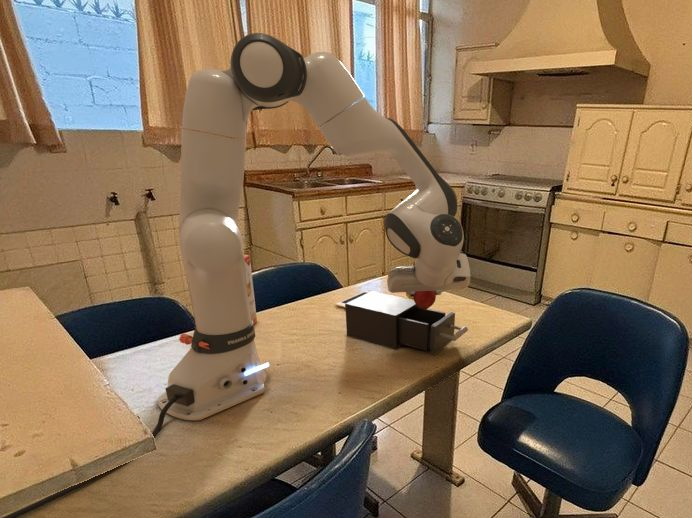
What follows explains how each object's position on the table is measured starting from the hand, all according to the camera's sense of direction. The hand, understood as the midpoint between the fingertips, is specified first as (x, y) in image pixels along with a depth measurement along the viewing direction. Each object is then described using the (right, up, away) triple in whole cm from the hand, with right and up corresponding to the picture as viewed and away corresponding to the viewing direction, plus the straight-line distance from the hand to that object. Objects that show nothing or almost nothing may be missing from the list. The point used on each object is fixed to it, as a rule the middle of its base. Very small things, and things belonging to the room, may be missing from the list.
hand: (424, 293), depth 118 cm
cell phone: (-21, -1, +36) cm, 42 cm away
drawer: (+1, -13, +4) cm, 14 cm away
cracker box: (-53, -10, +12) cm, 55 cm away
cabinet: (-11, -11, +11) cm, 19 cm away
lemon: (-3, -1, +37) cm, 37 cm away
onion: (0, -5, +1) cm, 5 cm away
